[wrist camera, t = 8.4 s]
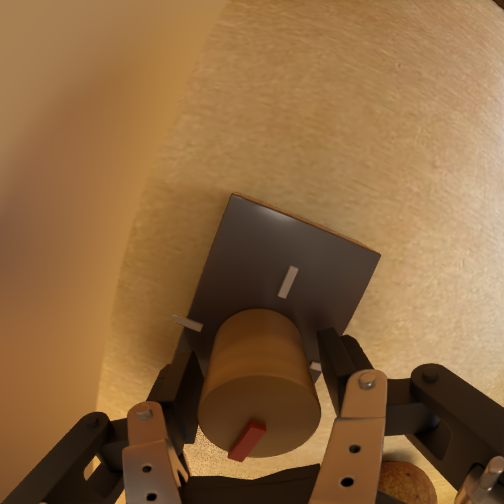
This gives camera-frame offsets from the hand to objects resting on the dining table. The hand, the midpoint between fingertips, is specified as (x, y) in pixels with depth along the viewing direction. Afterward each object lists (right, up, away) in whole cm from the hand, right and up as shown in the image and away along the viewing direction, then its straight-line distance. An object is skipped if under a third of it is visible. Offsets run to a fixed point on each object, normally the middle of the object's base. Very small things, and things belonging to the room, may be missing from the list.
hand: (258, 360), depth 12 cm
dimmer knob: (0, 0, +1) cm, 1 cm away
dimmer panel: (0, +1, +4) cm, 4 cm away
